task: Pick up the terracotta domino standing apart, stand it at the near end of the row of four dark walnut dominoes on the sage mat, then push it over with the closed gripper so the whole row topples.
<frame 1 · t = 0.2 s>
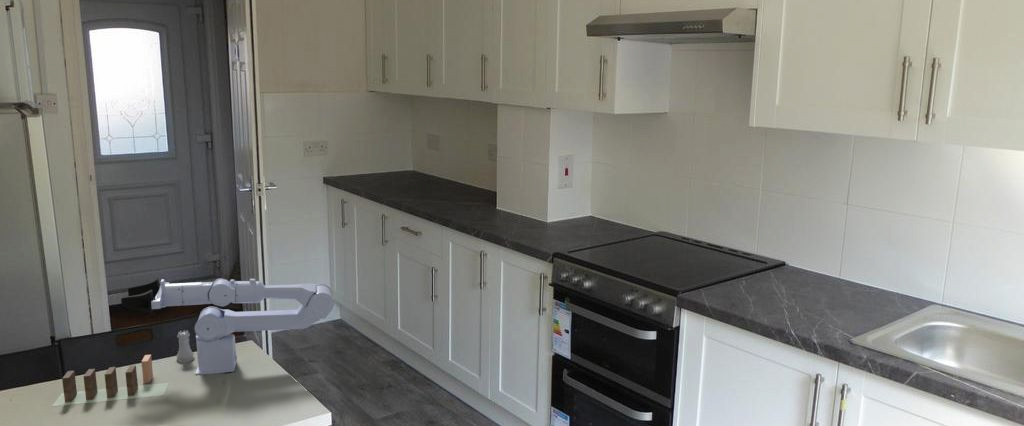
hand: (125, 297, 190), 21 cm above the countertop, tool horizontal, fingers open, 7 cm apart
domino 5: (71, 398, 180), resting on sage mat
domino 3: (112, 394, 183), resting on sage mat
domino 4: (91, 396, 182), resting on sage mat
domino 2: (132, 392, 184), resting on sage mat
rook chess piece: (185, 361, 205), on the countertop
terracotta domino: (148, 380, 191), on the countertop
sage mat: (112, 395, 183), on the countertop
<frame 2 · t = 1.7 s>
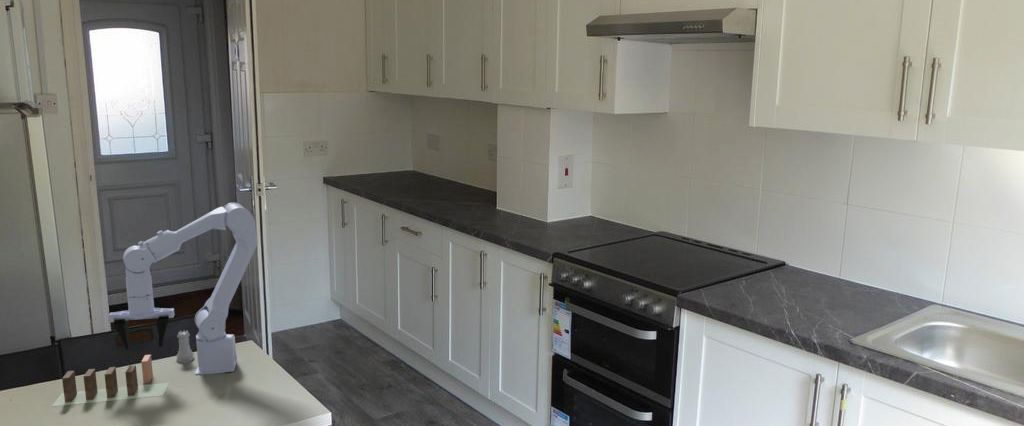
hand: (145, 346, 190), 9 cm above the countertop, tool pointing down, fingers open, 7 cm apart
nothing on the countertop moved.
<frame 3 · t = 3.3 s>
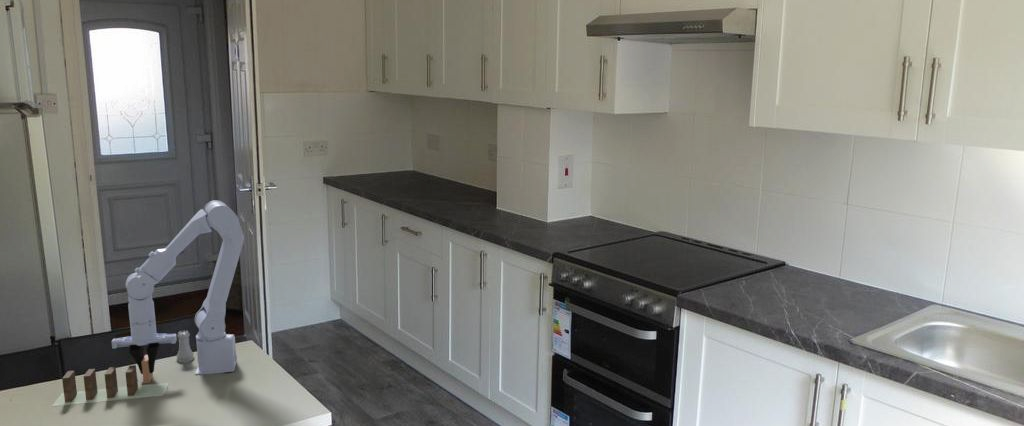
hand: (147, 372, 191), 2 cm above the countertop, tool pointing down, fingers closed on terracotta domino, 1 cm apart
terracotta domino: (148, 380, 191), on the countertop, touching gripper
everything else where it was.
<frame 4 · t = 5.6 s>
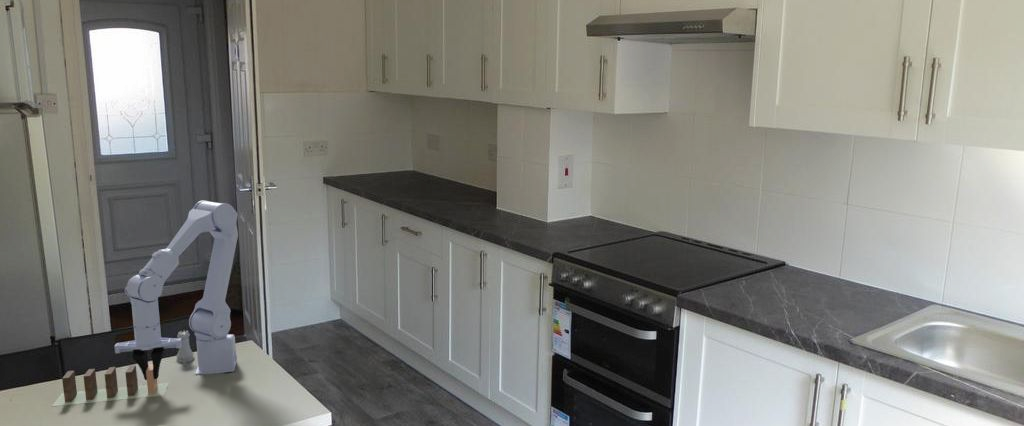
hand: (151, 377, 184), 4 cm above the countertop, tool pointing down, fingers closed on terracotta domino, 1 cm apart
terracotta domino: (152, 390, 185), resting on sage mat, touching gripper
everything else where it was.
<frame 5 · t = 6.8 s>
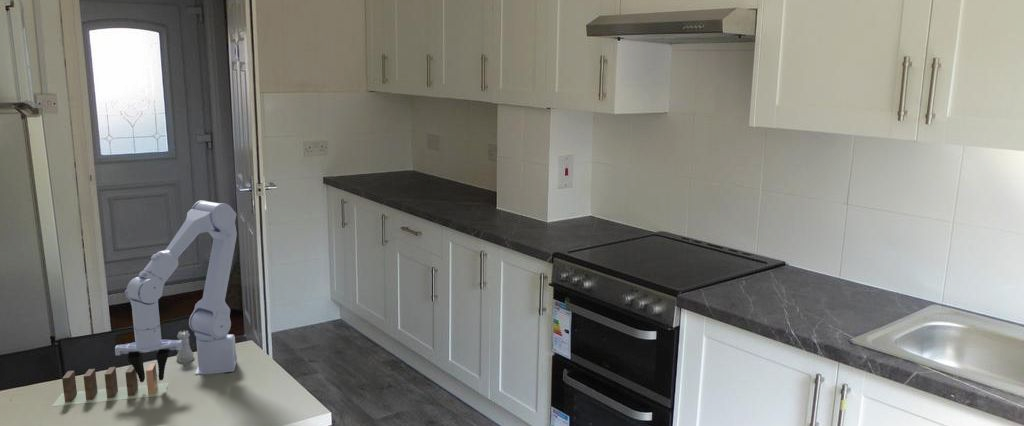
hand: (152, 379, 184), 3 cm above the countertop, tool pointing down, fingers open, 4 cm apart
terracotta domino: (152, 390, 185), resting on sage mat
everything else where it was.
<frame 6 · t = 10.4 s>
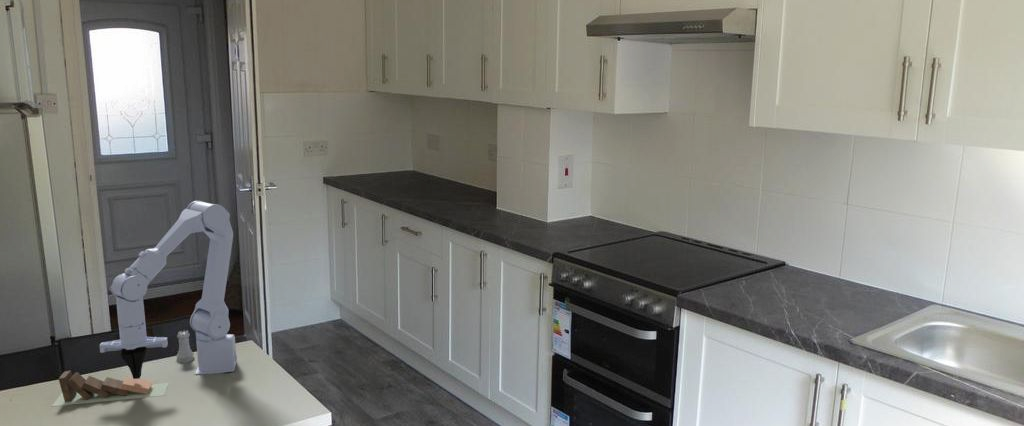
hand: (137, 377, 183), 4 cm above the countertop, tool pointing down, fingers closed
domino 5: (71, 397, 180), on the countertop, tilted 7°, touching sage mat
domino 3: (110, 392, 182), point 1 cm above the countertop, tilted 57°, touching domino 2, sage mat
domino 4: (90, 394, 181), point 1 cm above the countertop, tilted 37°, touching sage mat
domino 2: (129, 389, 183), point 1 cm above the countertop, tilted 67°, touching domino 3, sage mat
terracotta domino: (149, 387, 185), point 1 cm above the countertop, tilted 71°, touching sage mat
everything else where it was.
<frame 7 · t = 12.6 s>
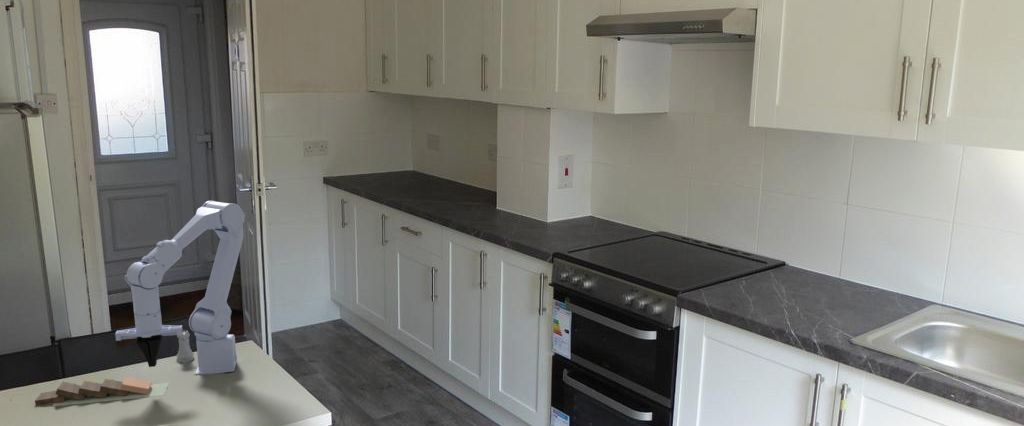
hand: (152, 365, 184), 7 cm above the countertop, tool pointing down, fingers closed
domino 5: (66, 395, 180), point 1 cm above the countertop, tilted 94°, touching domino 4, sage mat
domino 3: (108, 391, 182), point 1 cm above the countertop, tilted 72°, touching domino 2, domino 4, sage mat
domino 4: (86, 394, 181), point 1 cm above the countertop, tilted 69°, touching domino 3, domino 5, sage mat
domino 2: (129, 389, 183), point 1 cm above the countertop, tilted 72°, touching domino 3, sage mat, terracotta domino
terracotta domino: (149, 387, 185), point 1 cm above the countertop, tilted 72°, touching domino 2, sage mat
everything else where it was.
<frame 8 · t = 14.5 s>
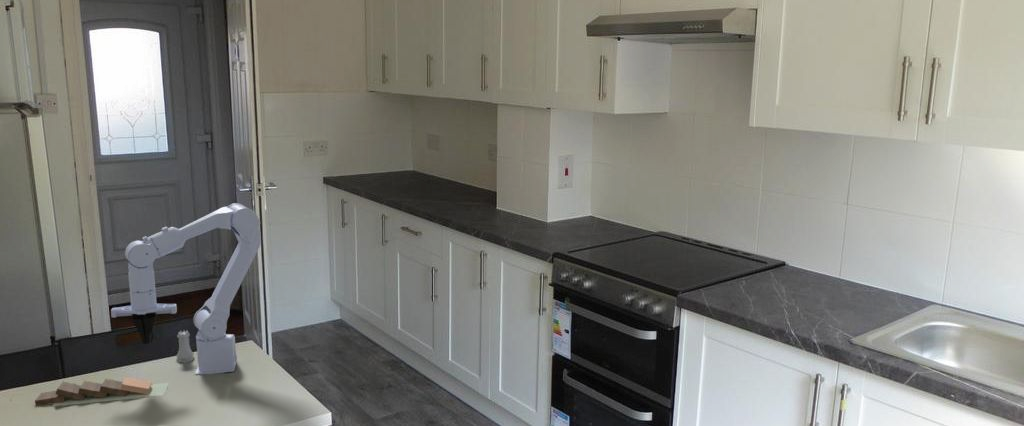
hand: (147, 342, 189), 10 cm above the countertop, tool pointing down, fingers closed
nothing on the countertop moved.
at the end: domino 5 tilted 94°; terracotta domino tilted 72°; terracotta domino inside the target area (1.8 cm from its centre), point 1.0 cm above the countertop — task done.
